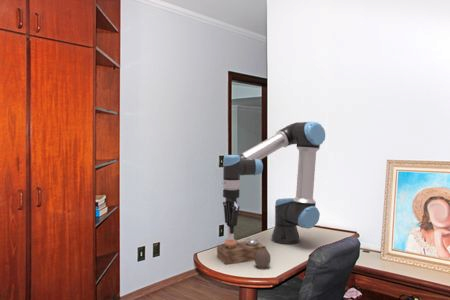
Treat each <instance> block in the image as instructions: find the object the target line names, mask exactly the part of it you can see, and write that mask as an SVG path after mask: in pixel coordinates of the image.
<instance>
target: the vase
mask: <svg viewBox="0 0 450 300" xmlns="http://www.w3.org/2000/svg"><path fill="white" fill-rule="evenodd" d="M264 246H265V245H264ZM264 246H261V247H260V248H259V250H258V251H257V252H256V254H255V261H254V263H255V265H256V266H257V267H258V268H259V269H267V268H268V267H269V266H270V264H271V254H270V252H269V251H268V249H267V246H265V247H264Z"/></svg>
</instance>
